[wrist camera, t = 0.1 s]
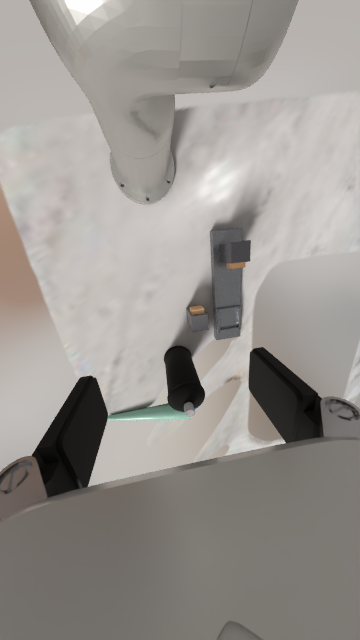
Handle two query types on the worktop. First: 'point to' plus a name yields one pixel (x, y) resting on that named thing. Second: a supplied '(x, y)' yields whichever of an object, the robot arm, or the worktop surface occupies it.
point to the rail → (227, 280)
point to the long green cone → (151, 414)
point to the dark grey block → (197, 318)
